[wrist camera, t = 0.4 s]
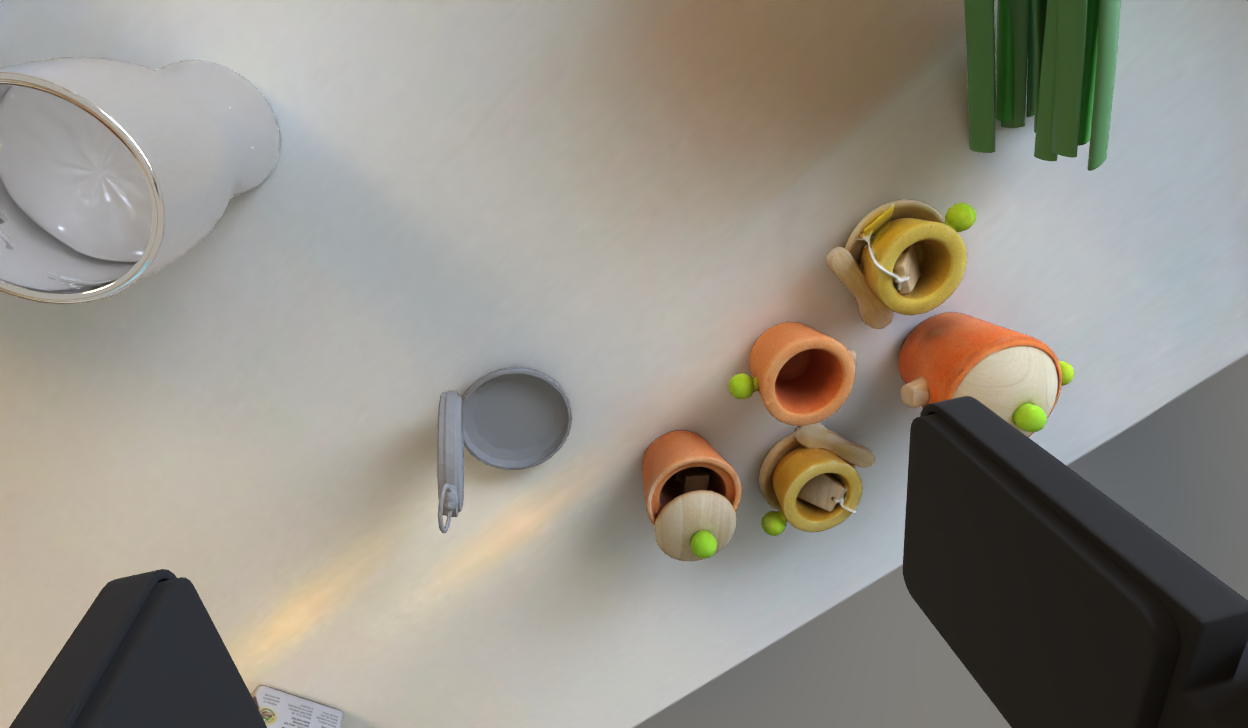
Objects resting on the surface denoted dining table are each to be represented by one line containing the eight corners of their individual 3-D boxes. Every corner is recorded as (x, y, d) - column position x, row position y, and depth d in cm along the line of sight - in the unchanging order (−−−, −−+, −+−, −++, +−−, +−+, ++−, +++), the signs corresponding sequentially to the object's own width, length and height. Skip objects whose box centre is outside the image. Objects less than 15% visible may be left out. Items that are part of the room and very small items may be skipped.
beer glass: (219, 233, 36) (63, 355, 22) (91, 116, 33) (-179, 176, 19) (323, 143, 35) (225, 214, 21) (201, 14, 32) (-1, 3, 18)
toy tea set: (910, 155, 40) (1027, 189, 32) (1034, 323, 47) (1159, 390, 38) (590, 462, 45) (616, 564, 37) (743, 577, 52) (796, 687, 43)
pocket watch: (589, 425, 44) (618, 526, 35) (474, 493, 45) (472, 609, 36) (517, 321, 40) (527, 404, 31) (391, 396, 41) (367, 499, 32)
